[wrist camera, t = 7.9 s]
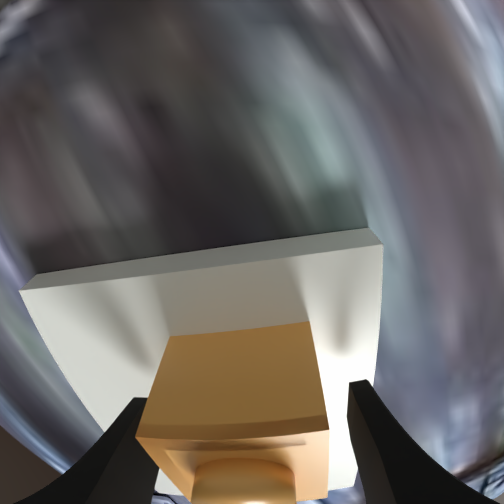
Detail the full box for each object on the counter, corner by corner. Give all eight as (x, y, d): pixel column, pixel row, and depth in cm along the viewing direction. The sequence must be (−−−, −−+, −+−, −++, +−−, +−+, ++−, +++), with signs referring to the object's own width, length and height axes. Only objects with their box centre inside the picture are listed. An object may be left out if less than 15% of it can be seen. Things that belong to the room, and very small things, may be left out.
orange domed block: (315, 408, 13) (329, 520, 8) (204, 418, 13) (188, 524, 8) (309, 321, 11) (335, 463, 6) (169, 336, 11) (125, 466, 6)
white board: (350, 469, 18) (353, 486, 17) (162, 477, 19) (158, 492, 18) (369, 227, 11) (383, 243, 9) (36, 274, 12) (18, 290, 11)
